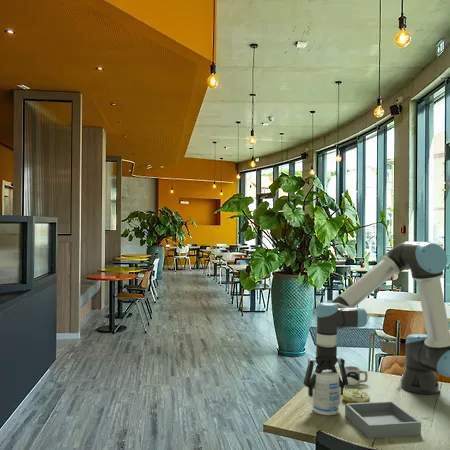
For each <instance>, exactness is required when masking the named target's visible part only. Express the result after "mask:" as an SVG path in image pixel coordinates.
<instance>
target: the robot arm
mask: <svg viewBox="0 0 450 450" xmlns="http://www.w3.org/2000/svg"><path fill="white" fill-rule="evenodd" d="M447 264H448V256H447V252H446V250H445V249H444V248H443V247H442V246H441V245H439V244H437V243H433V242H431V241H413V240H412V241H411V240H409V241H403V242H401V243H399V244H397V245H395V246H394V247H393V248H391V249H390V250H389V251H387V252H386V253H385V254H383V256H381V258H380V261H379V262H378V263H377V264H375V265H374V266H373V267H372V268H370V269H369V270H368V271H367V272H366V273H365V274H363V275H362V276H361V277H359V279H358V280H356V281H355V282H353V283H352V284H351V285H350V286H348V288H346V289H345V290H344V291H343V292H342V293H341V294H339V295H337V297H336V298H334V299H333V300H331V299H330V300H325V302H320V303H318V304H317V308H316V343H317V344H316V345H315V347H316V348H315V355H316V356H315V358H314V359H312V358H308V359H307V368H306V370H305V375H304V379H303V383H302V384H303V386H305V387H306V388H307V389H308V390H307V394H308V396H309V397H310V401H309V403H310V405H311V406H312V407H313V406H315V388H314V385H315V383H316V375H314V373H313V372H314V366H315V364H317V365H316V366H315V372H316V373H317V374H319V373H321V372H322V371H323V370H331V371H332V372H334V373H339V372H338V371H337V370H338V369H337V368H336V364H338V367H339V371H340V375H339V405H338V406H341V404H342V395H343V391H344V388H345V386H349V385H348V380H347V375H346V371H345V367H346V366H345V363H346V360H345V359H344V358H342V357H339V358H337V357H338V356H337V355H338V354H337V353H338V351H337V350H338V347H337V345H338V329H349V328H350V329H354V328H355V329H358V328H364V327H366V326H367V323H368V319H369V317H368V313H367V311H366V309H365V308H364V307H359V306H358V305H359V304H360V303H361V302H363V301H364V300H365V299H366V298H367V297H369V296H370V295H371V294H372V293H373V292H375V291H376V290H377V289H379V287H381V286H382V285H383V284H385V283H386V281H388V280H389V279H391V278H392V276H393V275H397V276H398V275H399V274H401V273H402V272H403V271H406V270H410V274H411V278H412V279H413V280H415V281H416V282H417V283H416V284H417V288H418V294H419V295H418V296H419V300H420V307H421V310H422V311H421V312H422V316H423V320H424V321H423V322H424V327H425V333H426V334H425V333H413V334H408V335H407V336H406V339H405V367H404V368H405V369H404V372H403V374H402V377H401V379H400V387H401V388H402V389H403V390H405V391H408V392H410V393H414V394H420V395H433V394H438V393H439V391H440V386H439V385H440V384H439V381H438V379H437V375H436V373H437V374H438V375H440V376H443V377H444V376H445V377H447V378H450V327H449V320H448V316H447V309H446V305H445V300H444V299H445V298H444V293H443V288H442V282H441V278H442V276H444V270H445V269H446V265H447ZM357 306H358V307H357Z"/></svg>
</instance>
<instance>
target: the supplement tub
mask: <svg viewBox="0 0 450 450" xmlns="http://www.w3.org/2000/svg"><path fill="white" fill-rule="evenodd" d="M315 370H316V369H315ZM315 370H314V369H313V374H314V375H316V383H315V385H314V388H315V406H312V410H313V411H314V413H316V414H318V415H322V416H334V415H336V414H338V412H339V406H340V405H339V376H340V373H339V372H338V373H334V372H332V371H331V370H323V371H322V372H321V373H319V374H317V373H316V372H315Z"/></svg>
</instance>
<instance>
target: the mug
mask: <svg viewBox="0 0 450 450" xmlns="http://www.w3.org/2000/svg"><path fill="white" fill-rule="evenodd" d="M344 367H345V371H346V375H347V380H348V385H347V386H350V387H358V386H360V385H361V383H366V382H368V376H369V375H368V371H365V370H361V369H360V368H359V367H357V366H352V365H349V366H348V365H347V366H344ZM361 374H364V375H365V376H364V379H361Z"/></svg>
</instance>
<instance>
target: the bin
mask: <svg viewBox="0 0 450 450" xmlns="http://www.w3.org/2000/svg"><path fill="white" fill-rule="evenodd" d="M344 405H345V406H344V416H345V417H346V418H347V419H348V420H349V421H350V422H351V423H352V424H353V425H354V426H356V427H357V429H358V430H360V431H361V432H362V434H363V435H365V437H367V439H369V440H370V439H383V438H385V439H386V438H398V437H399V438H400V437H411V436H413V437H414V436H416V437H417V436H421V435H422V422H421V421H420V420H419V419H417V418H416V417H414V416H413V415H412V414H410V413H409V412H407V411H406V410H405V409H404V408H402V407H401V406H400V405H398V404H397V403H395V402H394V401H391V400H390V401H387V400H386V401H373V402H371V401H370V402H368V403H344Z"/></svg>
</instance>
